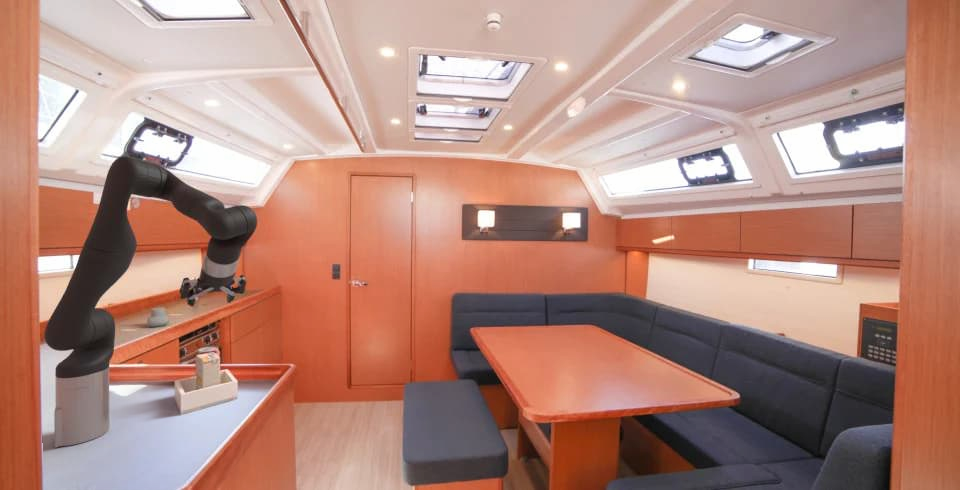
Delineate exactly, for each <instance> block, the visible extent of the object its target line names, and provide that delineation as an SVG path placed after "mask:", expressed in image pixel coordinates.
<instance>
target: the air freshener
mask: <svg viewBox="0 0 960 490" xmlns="http://www.w3.org/2000/svg"><path fill="white" fill-rule="evenodd" d="M150 311H151V312H150V313H151V314H150V316H149V317H147V326H148V327H150V328H159V326H160V327H163V326H164V325H165V326H167V325H169V324H170V317H169V315H167V314H166V307H164V306H163V307H162V306H161V307H153V308H151V310H150Z"/></svg>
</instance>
